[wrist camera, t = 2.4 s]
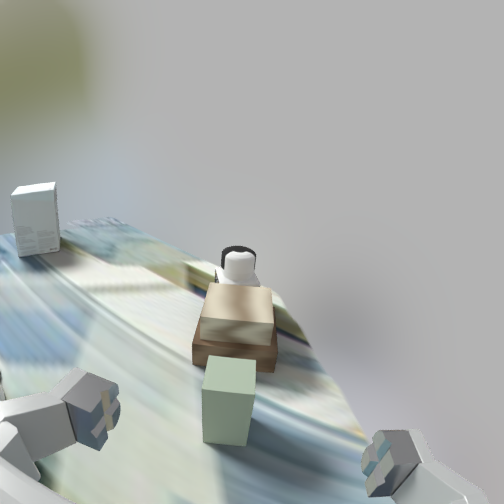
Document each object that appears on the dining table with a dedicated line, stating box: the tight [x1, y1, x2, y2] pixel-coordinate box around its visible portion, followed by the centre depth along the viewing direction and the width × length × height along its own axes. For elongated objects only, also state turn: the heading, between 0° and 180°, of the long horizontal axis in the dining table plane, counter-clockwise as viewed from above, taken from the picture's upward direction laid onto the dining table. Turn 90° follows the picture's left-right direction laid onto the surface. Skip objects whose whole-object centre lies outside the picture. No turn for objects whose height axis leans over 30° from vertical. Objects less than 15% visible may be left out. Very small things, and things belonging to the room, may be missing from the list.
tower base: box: [192, 307, 278, 373], centre depth 48 cm, size 12×12×4 cm
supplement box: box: [11, 182, 60, 257], centre depth 70 cm, size 13×13×18 cm
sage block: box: [202, 355, 256, 446], centre depth 31 cm, size 5×5×10 cm
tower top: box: [200, 282, 274, 346], centre depth 46 cm, size 10×10×4 cm
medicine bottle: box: [215, 246, 260, 287], centre depth 56 cm, size 7×7×12 cm
